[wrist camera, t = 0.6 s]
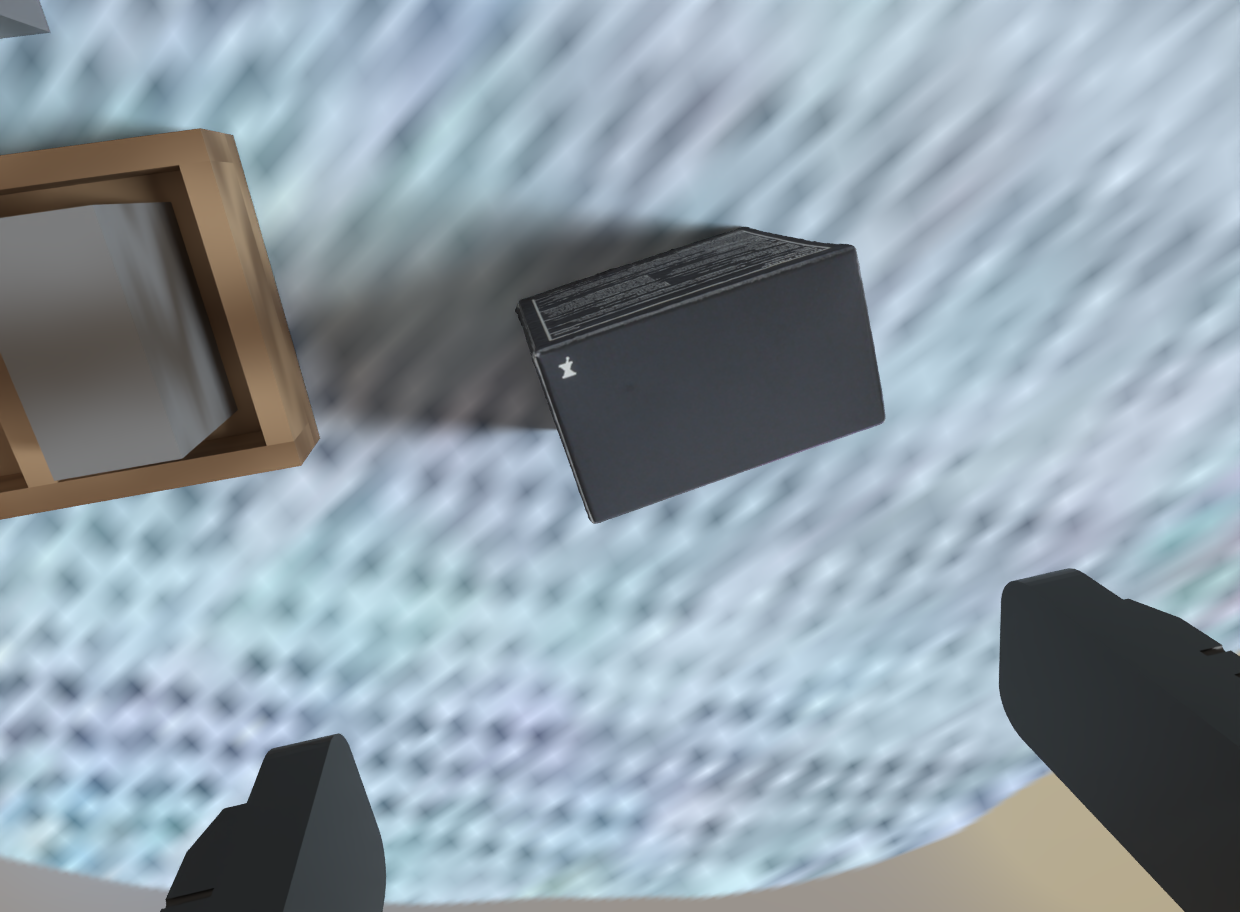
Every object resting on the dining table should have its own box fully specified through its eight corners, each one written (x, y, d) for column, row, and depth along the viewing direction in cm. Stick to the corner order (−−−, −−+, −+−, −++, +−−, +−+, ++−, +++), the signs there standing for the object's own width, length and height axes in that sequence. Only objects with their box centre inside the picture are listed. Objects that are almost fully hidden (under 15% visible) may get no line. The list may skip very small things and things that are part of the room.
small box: (561, 440, 35) (588, 538, 25) (511, 300, 33) (520, 347, 23) (782, 364, 35) (895, 431, 25) (749, 221, 33) (858, 234, 23)
